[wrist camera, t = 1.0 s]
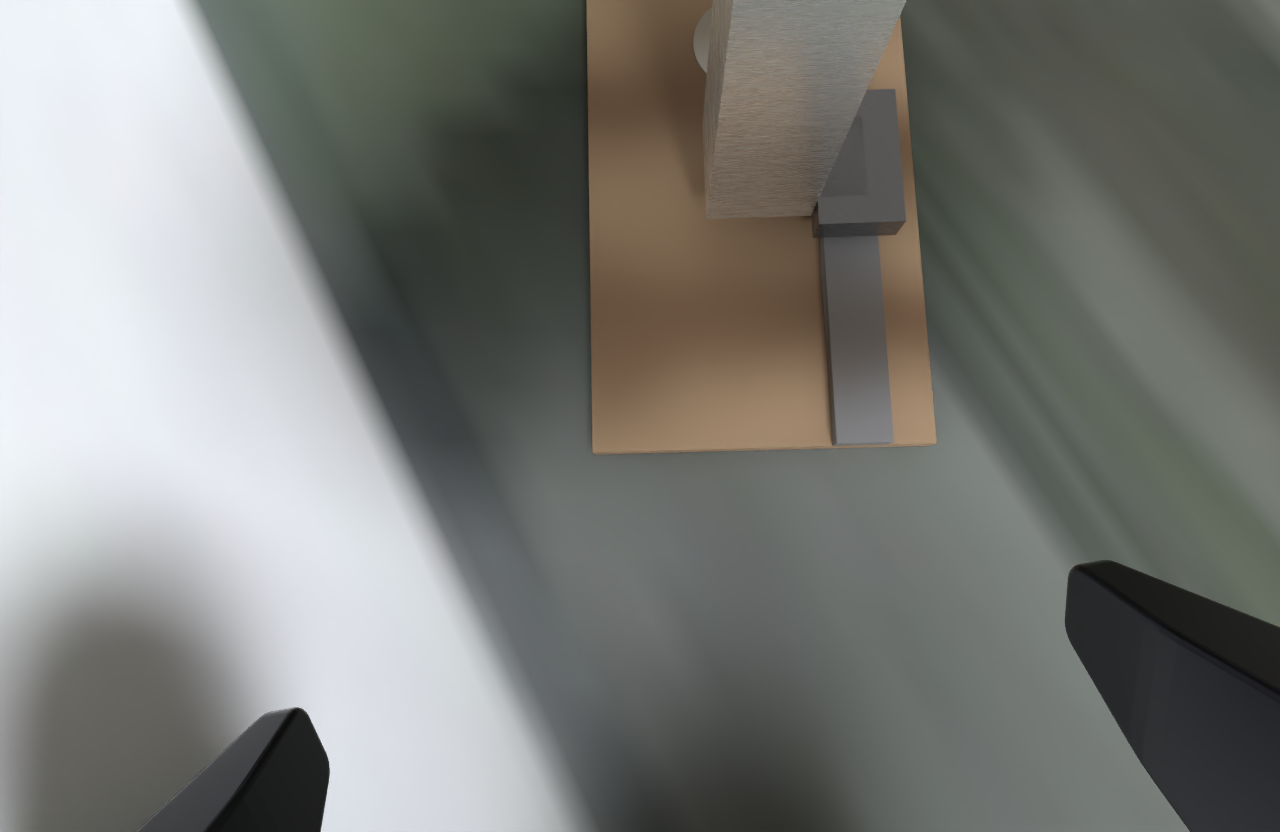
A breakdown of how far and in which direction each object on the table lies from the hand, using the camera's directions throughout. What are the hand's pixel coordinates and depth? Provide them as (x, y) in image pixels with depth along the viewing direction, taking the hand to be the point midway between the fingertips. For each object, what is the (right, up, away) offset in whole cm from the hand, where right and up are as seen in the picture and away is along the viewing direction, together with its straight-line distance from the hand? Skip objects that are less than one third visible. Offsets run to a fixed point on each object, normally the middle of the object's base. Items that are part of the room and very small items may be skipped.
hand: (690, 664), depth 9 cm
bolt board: (+3, +12, +16) cm, 20 cm away
